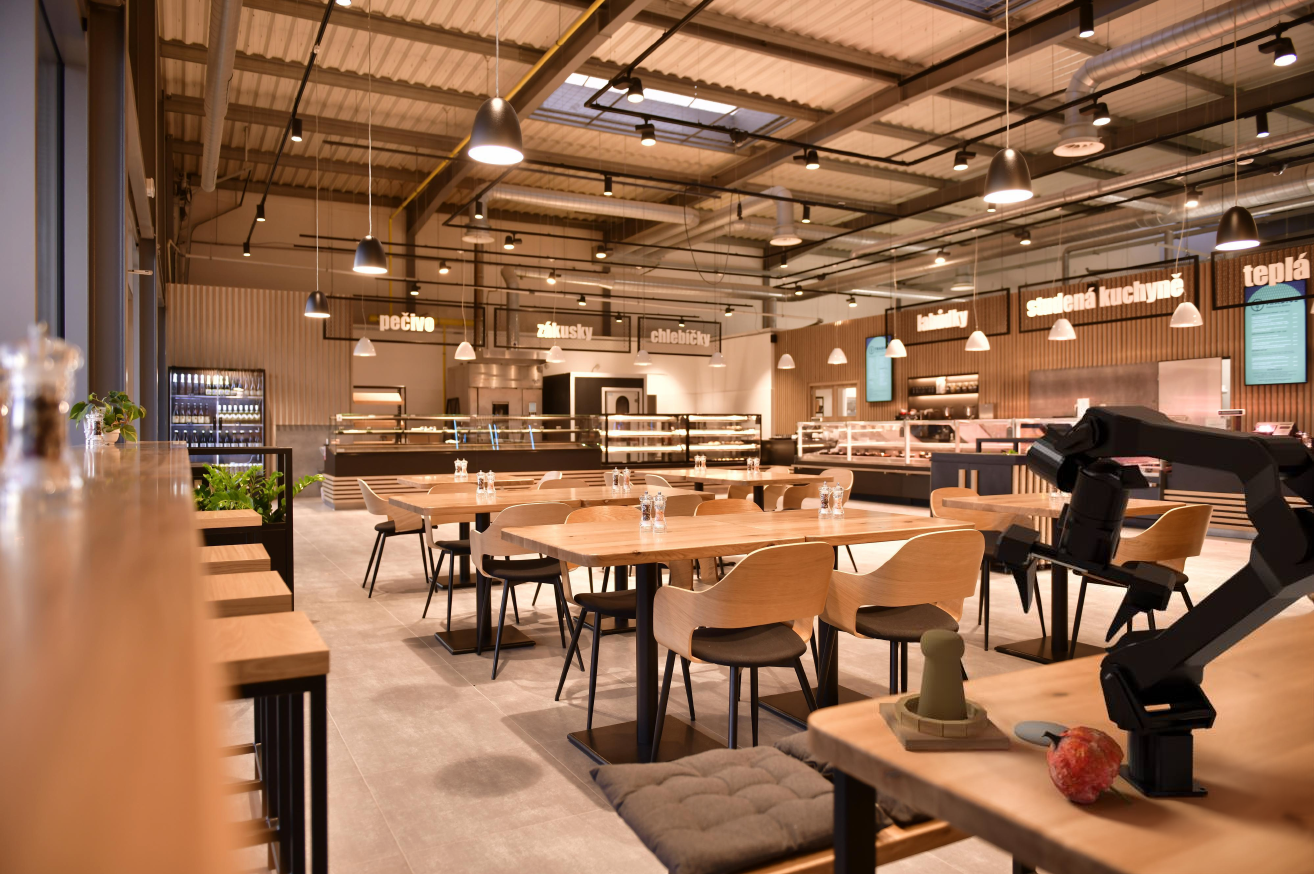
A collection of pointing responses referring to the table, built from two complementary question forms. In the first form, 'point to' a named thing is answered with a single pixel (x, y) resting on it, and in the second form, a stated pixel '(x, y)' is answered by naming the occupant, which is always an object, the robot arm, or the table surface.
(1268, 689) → the table surface
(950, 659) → the olive green peg
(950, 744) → the hub board
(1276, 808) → the table surface
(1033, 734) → the grey coaster
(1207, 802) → the table surface
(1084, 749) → the pomegranate
